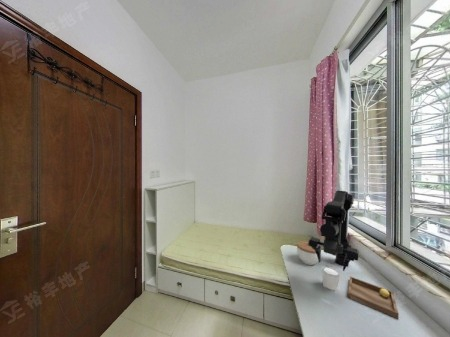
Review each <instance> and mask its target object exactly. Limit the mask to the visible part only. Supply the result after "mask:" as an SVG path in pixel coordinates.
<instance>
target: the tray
mask: <svg viewBox="0 0 450 337" xmlns="http://www.w3.org/2000/svg"><path fill="white" fill-rule="evenodd" d="M380 289H385V288H383V287H380V286H377V285H374V284H372V283H371V282H367V281H364V280H362V279H359V278H356V277H353V276H349V282H348V292H347V298H348V299H351V300H353V301H355V302H357V303H360V304H362V305H364V306H367V307H369V308H371V309H373V310H376V311H378V312H381V313H383V314H385V315H388V316H390V317H393V318H395V319H397V320H398V319H399V314H400V313H399V310H398V307H397V306H398V305H397V302H396V298H395V293H394V291H392V290H389V289H386V290H387V291H388V292H389V297H383V296H382V295H381V294H380Z"/></svg>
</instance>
